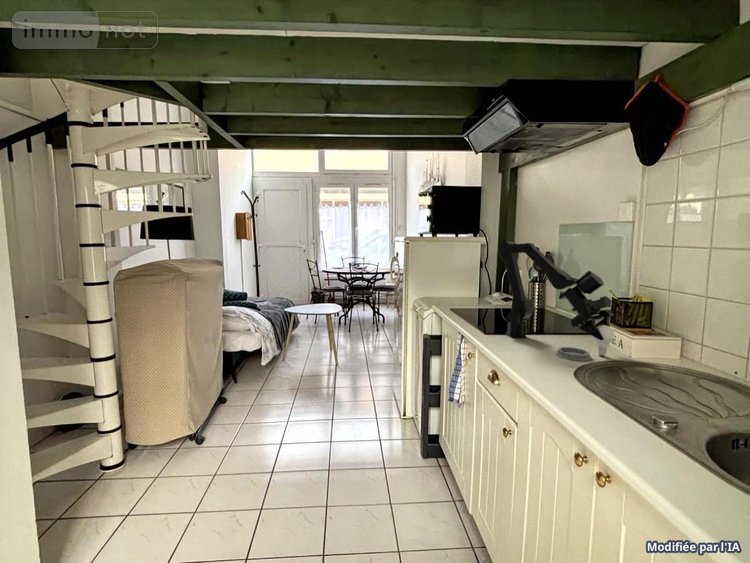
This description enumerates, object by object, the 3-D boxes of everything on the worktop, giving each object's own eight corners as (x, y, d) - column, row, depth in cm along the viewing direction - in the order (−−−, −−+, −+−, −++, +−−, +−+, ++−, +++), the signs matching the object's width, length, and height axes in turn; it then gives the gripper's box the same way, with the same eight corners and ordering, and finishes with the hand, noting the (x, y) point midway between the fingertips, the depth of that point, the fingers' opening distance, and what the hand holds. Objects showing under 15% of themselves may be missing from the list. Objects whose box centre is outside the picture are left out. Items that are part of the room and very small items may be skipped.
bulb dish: (566, 361, 132) (567, 355, 132) (549, 351, 143) (550, 346, 143) (598, 361, 133) (598, 355, 133) (578, 351, 144) (579, 346, 144)
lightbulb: (616, 359, 136) (619, 327, 135) (597, 358, 136) (600, 327, 135) (605, 353, 142) (608, 323, 141) (587, 353, 142) (590, 323, 141)
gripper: (581, 290, 135) (612, 328, 127) (610, 287, 145) (640, 323, 137) (558, 309, 142) (585, 346, 134) (587, 305, 152) (614, 340, 144)
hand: (607, 338), depth 137 cm, fingers closed on lightbulb, 6 cm apart
